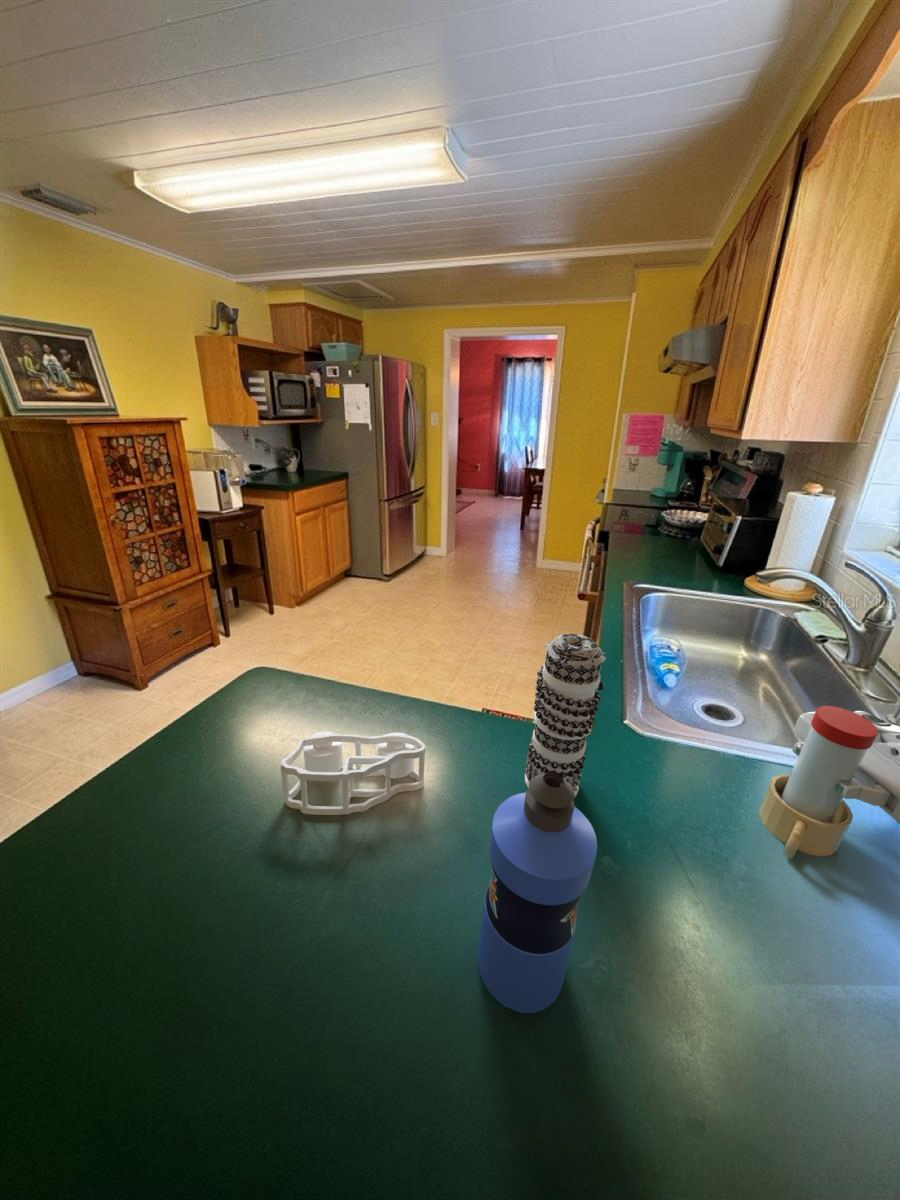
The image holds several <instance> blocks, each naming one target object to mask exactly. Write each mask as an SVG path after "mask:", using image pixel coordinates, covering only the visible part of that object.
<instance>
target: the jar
mask: <svg viewBox="0 0 900 1200" xmlns="http://www.w3.org/2000/svg"><path fill="white" fill-rule="evenodd" d="M814 712H815V714H814V716H813V719H812V721H811V725H812V726H811V728H810V730H809V733H808V735H807V737H806V740H805V742H804V744H803V747H802V749H801V751H800V754H799V756H797V758H796V760H795V763H794V765H793V768H792V769H791V772H790V773H789V774H790V777H789V779H788V781H787V784H786V786H785V788H784V791H783V793H782V795H781V799H782V800H783V801H784V802H785V803H787V804H788V805H789V806H790V807H792V808H793V809H795V810H796V811H797V812H799V813H801V814H803V815H805V816H807V817H809V818H811V819H814V820H817V821H820V822H824V823H831V822H832V820H833V818H834V816H835V814H836V812H837V810H838V808H839V806H840V804H841V802H842V800H844V799H845V798H844V797H843V796H842V795H841V794H840V793H839V792H838V791H836V790H835V788H836V787H837V786H838V785H837V784H838V782H839V781H841V780H845V781H847V780H853V778H854V776H855V774H856V772H857V770H858V768H859V766H860V764H861V762H862V760H863V758H864V756H865V754H866V752H867V750H868V749H869V748H870V747H871V746H872V744H873V742H874V740H875V738H876V736H877V734H878V729H877V727H876V726H875V725H874V724H873V723H872V722H870V721H869V720H867V719H866V718H864V717H862V716H861V715H859V714H856V713H854V712H855V711H851V710H848V709H846V708H843V707H838V706H833V705H821V706H818V707H816V709H815V711H814Z"/></svg>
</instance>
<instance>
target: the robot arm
mask: <svg viewBox="0 0 900 1200" xmlns="http://www.w3.org/2000/svg"><path fill="white" fill-rule="evenodd" d="M815 712H816V711H808V712H803V713H801V714H800V715H799V716H798V718H797V721H796V723H795V725H794V727H793V728H794V729H793V734H794V735H795V736H796V737H797V738H799V740H800V741H797V742H795V743H794V744H793V747H792V749H791V751H792V752H793V753H794V754H795V755H796V756H797V757H798V756H799V754H800V751H801V749H802V747H803V744H804V742H805V740H806V737H807V735H808V733H809V730H810V728H811V726H812V725H811V721H812V719H813V716H814V714H815ZM853 712H854V713H856V714H859V715H861V716H862V717H864V718H866V719H867V720H869V721H870V722H872V723H873V724H874V725H875V726H876V727H877V729H878V734H877V736H876V738H875V740H874V742H873V744H872V746H871V747H870V748H869V749H868V750H867V752H866V754H865V756H864V758H863V760H862V762H861V764H860V766H859V768H858V770H857V772H856V774H855V776H854V778H853V780H847V781H845V780H841V781H839V782H838V784H837V785H838V786H837V787H836V788H835V790H836V791H838V792H839V793H840V794H841V795H842V796H843V797H844V798H843V799H845V800H857V801H861V802H863V803H866V804H869V805H872V806H875V807H880V809H882V810H883V811H884V812H885V813H886V814H888V816H889V817H891V818H892V819H893V820H895V821H896V822H897V823H898V824H900V725H899V726H898V725H895V724H893V723H890V722H888V721H886V720H883V719H882V718H880V717H877V716H875V715H874V714H871V713H869V712H867V711H864V710H855V711H853Z"/></svg>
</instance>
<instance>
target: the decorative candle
mask: <svg viewBox="0 0 900 1200" xmlns="http://www.w3.org/2000/svg"><path fill="white" fill-rule="evenodd" d="M545 651H546V654H545V661H544V663H543V664H542V665H541V666H540V670H538V671H537V672H536V675H537V679H536V686H535V690H536V692H535V694H534V695H535V699H534V706H533V711H534V712H533V721H534V723H535V725H534V729H533V731H532V737H531V738H530V739H529V746H528V753H527V757H526V764H525V771H524V772H525V773H524V783H525V785H526V787H527V789H528V788H529V783H530V781H531V779H532V778H534V777H535V776H537V775H540V774H544V773H550V772H552V773H556V774H558V775H560V776H561V777H562V778H563V779H565V780H566V781H567V782H568V783H569V784H570V785H571V786H572V788H573V790H574V794H575V797H574V799H575V798H576V797H577V795H578V792H579V790H580V787H579V786H581V782H580V780H581V779H582V778H583V774H582V772H583V769H584V767H585V765H584V762H585V760H586V759H587V757H586V754H587V751H586V747H587V741H586V740H587V736H589V735H590V733H591V731H592V729H593V723H594V722H595V721H596V718H595V714H596V712H597V711H599V706H598V705H599V702H600V701H601V700H602V698H601V696H600V692H599V691H602V690H604V688H605V685H604V682H603V680H602V679H601V677H602V676H601V674H600V673H601V669H602V664H604V663H605V660H606V659H607V656H606V653H605V651H604V650H603V649H602V648H601V647H599V644H598V643H597V642H596V641H595V640H594V639H592V638H590V637H588V636H586V635H583V634H577V633H563V634H561V635H558V636H557V637H556V638H555V639H552V640H549V642H547V644H546V645H545Z"/></svg>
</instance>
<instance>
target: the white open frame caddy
mask: <svg viewBox="0 0 900 1200" xmlns="http://www.w3.org/2000/svg"><path fill="white" fill-rule="evenodd" d="M343 743H353V744H354V745H355V747H354V749H355V755H347V756H346V757H345V758H344V759H343ZM362 745H377V755H362ZM415 748H417V749H415ZM302 751H303V761H304V768H302V767H299V766H296V765H292V764H293V763H294V761H296V760H297V758H298V757H300V755H301V754H302ZM415 759H419V760H418V770H416V769H414V767H415ZM343 760H344V761H343ZM425 760H426V744H425V743H424V742H423V741H422V740H421V739H419V738H417V737H415V736H412V735H409V734H407V733H405V732H390V733H386V734H382V735H373V736H372V735H371V736H370V735H362V734H351V733H350V734H349V733H336V732H333V731H318V732H316V733H313V734H311V735H310V736H308V737H304V738H301V739H300V740H299V741H298V742H297V745H296V747H295V748H294V749H293V750H292V751H291V752H290V754H288V755H287V756H286V757H284V758H282V759H281V761H280V774H281V784H282V794H283V802H284V803H285V805H286V806H288V807H289V808H291V809H296V810H300V812H301V813H302V814H304V815H314V816H315V815H316V816H318V815H319V816H341V815H350V814H352V813H364V812H366V811H368V810H369V809H370V808H372V807H374V806H377V805H379V804H382V803H385V802H386V801H388V800H389V799H391V798H392V797H393V796H394V795H396V794H397V793H398V794H399V793H403V792H414V791H418V790H420V789H422V788H423V787H424V785H425ZM362 765H366V766H365V767H362ZM289 775H292V776H296V777H297V779H299V780H298V781H297V782H296V784H295V785H294V786H293V787H292V788H291V789H290V786H289V785H290V784H289ZM378 776H383V777H384V782H385V783H384V788H355V787H354V779H365V778H367V777H378ZM407 776H409V777H411V778H414V779H415V780H416V782H403V783H398V784H394V785H393V786H392V779H401V778H405V777H407ZM307 781H311V782H341V796H342V797H341V799H342V805H339V806H338V805H337V806H335V805H334V806H331V805H330V806H328V805H312V804H309V797H308V785H307V784H308V783H307ZM299 793H300V796H301V797H300V798H301V800H299V799H294V798H295V797H296V796H298V794H299ZM352 798H368V799H367V800H365V801H364V802H360V803H359V802H358V803H351V799H352ZM350 803H351V804H350Z"/></svg>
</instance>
